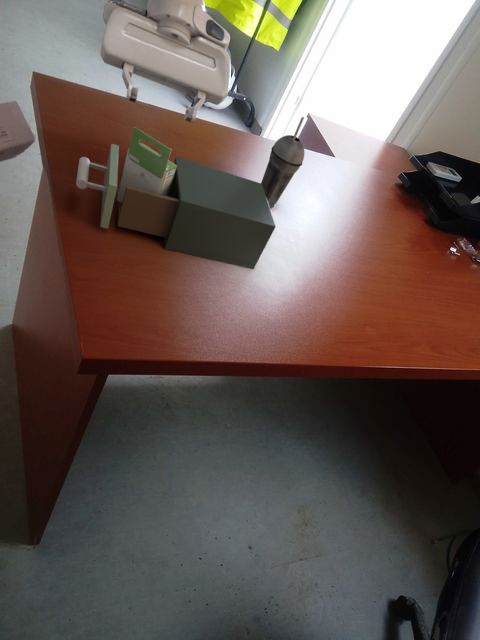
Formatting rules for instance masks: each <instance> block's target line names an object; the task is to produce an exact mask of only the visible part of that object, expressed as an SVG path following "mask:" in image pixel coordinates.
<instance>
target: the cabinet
mask: <svg viewBox="0 0 480 640" xmlns="http://www.w3.org/2000/svg"><path fill="white" fill-rule="evenodd" d="M173 163H174V164H175V165H177V168H176V178H177V187H178V196H179V204H178V207H177V210H176V213H175V216H174V219H173V222H172V225H171V228H170V231H169V234H168V237H167V238H165V237H163V241H164V242H163V243H164V249H165V250H168V251H172V252H177V253H181V254H186V255H191V256H194V257H195V256H196V257H199V258H204V259H208V260H212V261H216V262H221V263H225V264H230V265H233V266H239V267H242V268H247V269H250V270H251V269H252V270H254V269H255V267H256V266H257V264H258V262H259V259H260V258H261V256H262V255H263V252H264V250H265V249H266V246H267V244H268V243H269V240H270V239H271V237H272V235H273V233H274V231H275V229H276V223H275V220H274V216H273V214H272V211H271V208H269V205H268V201H267V198H266V195H265V192H264V189H263V186H262V184H261V182H258V181H255V180H251V179H248V178H245V177H242V176H239V175H236V174H232V173H229V172H226V171H223V170H220V169H216V168H214V167H210V166H207V165H204V164H201V163H197V162H196V161H195V162H194V161H192V160H188V159H185V158H182V157H179V156H175V158H174V161H173Z"/></svg>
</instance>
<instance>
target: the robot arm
mask: <svg viewBox="0 0 480 640" xmlns="http://www.w3.org/2000/svg"><path fill="white" fill-rule="evenodd" d="M102 17H103V18H102V19H103V21H104V24H105V28H104V32H103V36H102V41H101V46H100V51H99V54H100V57H101V59H102V61H103V62H104V64H106V65H109V66H112V67H114V68H116V69H117V68H118V69H120V70H122V71H121V72H122V73H121V78H122V81H123V83H124V85H125V88H126V95H125V96H126V97H125V100H126V101H129V102H132V103H136V102H137V99H138V93H139V87H138V86H135V85H134V83H133V80H132V76H133V75H136V76H138V77H141V78H143V79H146V80H149V81H152V82H155V83H157V84H160V85H161V86H165V87H168V88H170V89H173V90H175V91H179V92H181V93H183V94H186V95H189V96H192V97H194V100H193V103H194V104H195V105H194V106H193V107H192V106H191V105H190V106H189V105H188V106H187V108H186V109H185V112H184V117H183V118H184V121H186V122H189V123H192V124H193V123H194V122H195V121H196V119H197V118H196V117H197V112H198V110H199V109H200V108H201V107H202V106H203V104H205V102H208V103H210V104H212V105H215V106H218V105H220V104H222V103H223V102H224V101H225V100H226V99H227V97H228V95H229V93H230V85H231V71H232V70H231V69H232V68H231V67H232V66H231V65H232V64H231V58H230V54H229V52H228V51H227V50H228V48H229V45H230V41H231V35H230V33H229V32H228V31H227V29H225V28H224V27H223V26H221V24H220V23H218V22H217V21H216V20H215V19H213V17H212V16H210V14H208V13H207V11H206V4H205V0H147V6H146V9H144V8H142V7H139V6H137V5H134V4H131V3H129V2H127V1H125V0H107V2H105V4H104V8H103V14H102Z"/></svg>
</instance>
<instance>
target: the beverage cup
mask: <svg viewBox="0 0 480 640" xmlns="http://www.w3.org/2000/svg"><path fill="white" fill-rule="evenodd" d="M304 119H305V117H303V116H301V118H300V120H299V122H298V125H297V128H296V130H295V132H294V135H291V134H287V135H283V136H282V137H279V138H278V139H277V140H276V141H275V142H274V144H273V146H271V150H270V155H269V160H268V163H267V165H266V168H265V171H264V174H263V176H262V180H261V182H260V183H261V184H262V186H263V189H264V192H265V195H266V198H267V201H268V205H269V208H270V209H273V208H274V207H275V205H276V204H277V202H278V201H279V200H280V198H281V196H283V193H284V191H285V190H286V189H287V186H288V185H289V183H290V182H291V180H292V179H293V177H294V175H295V173H297V172H298V171H299V170H300V167H301V166H303V162H304V160H305V154H306V153H305V152H306V151H305V147H304V143H303V142H302V141H301V139H300V138H299V137H297V136H298V134H299V131H300V129H301V127H302V124H303V122H304Z"/></svg>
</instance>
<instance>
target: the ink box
mask: <svg viewBox="0 0 480 640" xmlns="http://www.w3.org/2000/svg"><path fill="white" fill-rule="evenodd" d="M141 141H145V142H147V143H150V144H152V145H153V146H154V147H155V148H156V149H157V150H158V151H159V152H160V153H158V152H157V151H155V150H154V149H152V148H151V147H149V146H148V145H146V144H144V143H143V142H141ZM172 150H173V149H172V148H170V147H168V146H167V145H165V144H164V143H162V142H160V141H159V140H157V139H155V138H154V137H152V136H150V135H149V134H147V133H146V132H144V131H142V130H141V129H139V128H138V127H136V126H133V127H132V132H131V137H130V142H129V147H128V148H127V152H126V154H127V156H126V155H125V159H126V161H125V160H124V163H125V165H124V164H123V168H124V169H123V168H122V172H123V174H122V173H121V177H122V178H121V177H120V181H121V183H120V182H119V186H120V187H119V186H118V192H117V197H116V201H117V202H118V201H119V202H120V203H122V202H123V198H124V194H125V189H126V185H128V186H132V187H136V188H139V189H143V190H146V191H150V192H154V193H157V194H161V195H164V196H167V195H168V192H169V189H170V186H171V183H172V180H173V177H174V174H175V171H176V168H177V165H175V164H174V162H172V161H171V160H170V157H171V153H172Z"/></svg>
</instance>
